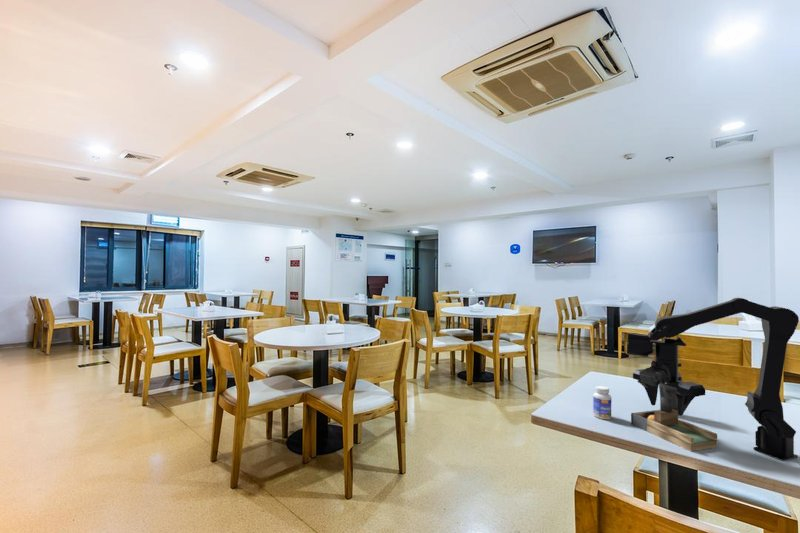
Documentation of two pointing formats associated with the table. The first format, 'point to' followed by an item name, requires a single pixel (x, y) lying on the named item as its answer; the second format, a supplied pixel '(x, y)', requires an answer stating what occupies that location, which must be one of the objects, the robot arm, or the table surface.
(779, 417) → the robot arm
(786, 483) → the table surface
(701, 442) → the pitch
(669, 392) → the beverage cup
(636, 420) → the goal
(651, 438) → the table surface
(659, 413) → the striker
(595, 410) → the pill bottle
